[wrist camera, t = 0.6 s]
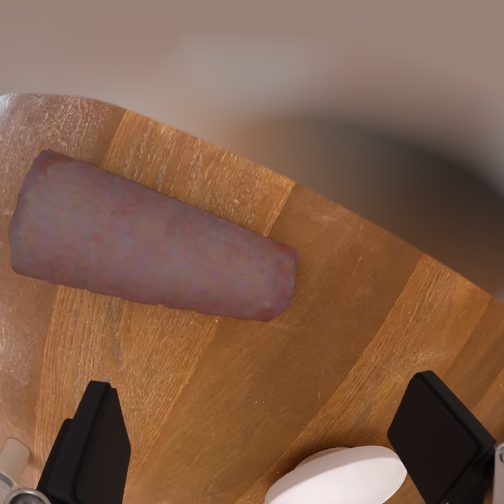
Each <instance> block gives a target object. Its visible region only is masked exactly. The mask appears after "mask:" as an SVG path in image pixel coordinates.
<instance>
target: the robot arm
mask: <svg viewBox="0 0 504 504" xmlns="http://www.w3.org/2000/svg"><path fill="white" fill-rule="evenodd" d="M387 437H388V440H389V442H390V443H391V445H392V447H393V448H394V450H395V452H396V453H397V455H398V457H399V458H400V460H401V462H402V463H403V465H404V467H405V469H406V470H407V472H408V474H409V475H410V477H411V479H412V480H413V482H414V484H415V486H416V487H417V489H418V491H419V492H420V494H421V496H422V498H423V499H424V501H425V503H426V504H447V503H448V504H504V442H503V443H501V444H499V445H498V446H497V448H496V449H495V450H494V448H493V446H494V445H495V444H496V442H497V441H496V440H495V439H494V438H493V437H492V436H491V435H490V433H489V432H488V431H487V430H486V429H485V428H484V427H483V425H482V424H481V423H480V422H479V421H478V420H477V419H476V418H475V416H474V415H473V414H472V413H471V412H470V411H469V410H468V409H467V408H466V406H465V405H464V404H463V403H462V402H461V401H460V400H459V399H458V398H457V397H456V396H455V394H454V393H453V392H452V391H451V390H450V389H449V388H448V387H447V386H446V385H445V384H444V383H443V382H442V380H441V379H440V378H439V377H438V376H437V375H436V374H435V373H434V372H433V371H430V370H428V371H423V372H418V373H416V374H415V375H414V376H413V378H412V379H411V380H410V381H409V384H408V386H407V389H406V391H405V394H404V396H403V398H402V401H401V403H400V405H399V408H398V410H397V412H396V414H395V417H394V419H393V421H392V423H391V425H390V427H389V429H388V432H387ZM130 455H131V446H130V442H129V438H128V434H127V431H126V427H125V423H124V419H123V415H122V411H121V407H120V402H119V398H118V393H117V390H116V388H111V385H110V383H107V382H100V381H92V380H91V381H90V382H89V384H88V386H87V388H86V390H85V393H84V395H83V397H82V399H81V402H80V404H79V406H78V408H77V411H76V413H75V415H74V418H73V419H70V418H67V419H66V420H64V422H63V424H62V426H61V428H60V431H59V433H58V435H57V438H56V440H55V442H54V445H53V447H52V450H51V452H50V454H49V457H48V459H47V462H46V464H45V467H44V470H43V472H42V475H41V477H40V480H39V483H38V486H37V488H36V490H35V489H32V488H19V489H16V490H14V491H12V492H11V493H9V495H7V497H6V499H5V501H4V503H3V504H122V500H123V494H124V488H125V482H126V477H127V471H128V466H129V460H130Z"/></svg>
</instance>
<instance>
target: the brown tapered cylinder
mask: <svg viewBox="0 0 504 504" xmlns="http://www.w3.org/2000/svg"><path fill="white" fill-rule="evenodd" d="M9 243H10V249H11V259H10V261H11V265H12V269H13V270H14V271H15V272H16V273H17V274H20V275H24V276H28V277H32V278H36V279H41V280H46V281H48V282H50V283H53V284H60V285H65V286H69V287H73V288H80V289H88V290H89V291H90V292H93V293H98V294H102V295H108V296H116V297H123V298H124V299H126V300H129V301H133V302H138V303H143V304H151V305H156V304H164V305H165V306H166V307H169V308H171V309H182V310H195V311H197V312H198V313H203V314H210V315H217V316H228V317H232V318H234V319H244V320H259V321H263V322H268V321H270V320H272V319H273V318H275V317H277V316H279V315H281V314H282V313H283V312H284V311H286V310H287V308H288V307H289V304H290V301H291V299H292V297H293V296H294V290H295V288H296V280H295V278H296V277H295V276H296V271H297V267H296V264H297V262H298V260H299V257H300V253H299V252H298V251H297V250H295V249H293V248H291V247H289V246H287V245H285V244H281V243H276V242H274V241H272V240H271V239H269V238H267V237H265V236H262V235H260V234H258V233H256V232H254V231H249V230H246V229H245V228H243V227H241V226H238V225H234V224H233V223H231V222H229V221H227V220H226V219H223V218H219V217H215V216H214V215H212V214H210V213H208V212H205V211H203V210H200V209H199V208H197V207H193V206H190V205H187V204H185V203H183V202H181V201H179V200H177V199H174V198H172V197H169V196H166V195H163V194H161V193H159V192H157V191H154V190H151V189H147V188H146V187H144V186H143V185H141V184H139V183H136V182H134V181H131V180H128V179H126V178H125V177H122V176H115V175H113V174H111V173H109V172H108V171H106V170H103V169H101V168H98V167H95V166H92V165H90V164H88V163H86V162H83V161H76V160H74V159H72V158H70V157H68V156H66V155H63V154H60V153H57V152H55V151H52V150H50V149H48V150H43V151H41V152H40V154H39V155H38V156H37V157H36V159H35V160H34V161H33V165H32V167H31V169H30V171H29V172H28V173H27V176H26V178H25V180H24V182H23V184H22V187H21V190H20V192H19V194H18V201H17V207H16V210H15V212H14V214H13V216H12V219H11V222H10V226H9Z"/></svg>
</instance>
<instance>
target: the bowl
mask: <svg viewBox="0 0 504 504" xmlns="http://www.w3.org/2000/svg"><path fill="white" fill-rule="evenodd" d="M406 474H407V470H406V469H405V467H404V465H403V463H402V462H401V460H400V458H399V457H398V455H397V454H395V453H394V452H393V451H392V450H390V449H389V448H385V447H382V446H361V447H355V448H346V447H337V448H331V449H327V450H323V451H320V452H318V453H315V454H313V455H311V456H309V457H308V458H306V459H304V460H303V461H302V462H300V463H299V464H298V465H297V466H296V468H295V469H294V470H293V471H291V472H289V473H287V474H286V475H285V476H283V477H282V478H280V479H279V480H278V481H277V482H276V483H275V484H274V485H272V486H271V487H270V489H269V490H268V492H267V493H266V495H265V500H264V504H382V503H384V502H385V501H386V500H387V499H388V498H390V497H391V496H392V495H393V494H394V493H395V492H396V491H397V490H398V489H399V487H400V486H401V484H402V483H403V481H404V479H405V477H406Z"/></svg>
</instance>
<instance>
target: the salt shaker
mask: <svg viewBox="0 0 504 504" xmlns="http://www.w3.org/2000/svg"><path fill="white" fill-rule="evenodd" d="M30 455H31V454H30V451H29V450H28V448H27V447H26V446H25V445H23V444H22V443H21V442H19V441H18V440H16V439H13V438H8V439H7V441H6V442H5V444H4V446H3V448H2V450H1V452H0V487H2V488H4V489H6V490H9V491H10V490H11V489H12V487H14V488H16V487H17V485H18V483H19V481H20V478H21V476H22V473H23V471H24V469H25V466H26V464H27V462H28V460H29V457H30Z"/></svg>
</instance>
